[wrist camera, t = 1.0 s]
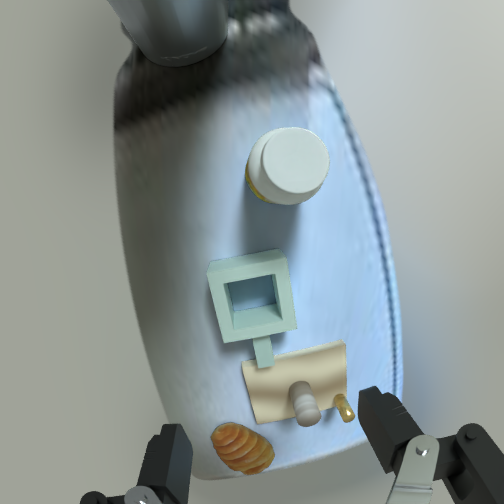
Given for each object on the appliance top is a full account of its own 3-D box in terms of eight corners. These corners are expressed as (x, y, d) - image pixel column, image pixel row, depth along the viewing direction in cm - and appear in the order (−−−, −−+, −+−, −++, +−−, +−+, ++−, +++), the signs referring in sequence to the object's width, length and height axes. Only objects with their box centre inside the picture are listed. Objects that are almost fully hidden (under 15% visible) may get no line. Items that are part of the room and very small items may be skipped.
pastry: (198, 429, 30) (195, 450, 27) (242, 411, 30) (243, 433, 26) (238, 462, 32) (239, 481, 28) (279, 447, 32) (283, 466, 28)
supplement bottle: (299, 206, 25) (335, 213, 16) (241, 199, 25) (244, 200, 16) (306, 149, 24) (344, 126, 15) (248, 141, 24) (256, 109, 15)
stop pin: (333, 395, 29) (343, 416, 25) (344, 392, 29) (355, 412, 25) (333, 403, 29) (343, 423, 25) (344, 400, 29) (354, 420, 25)
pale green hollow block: (210, 261, 26) (206, 273, 22) (278, 248, 26) (286, 257, 22) (233, 356, 28) (233, 378, 24) (293, 344, 28) (302, 365, 24)
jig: (241, 361, 28) (243, 398, 22) (341, 339, 28) (363, 369, 22) (256, 417, 30) (260, 454, 24) (343, 397, 30) (360, 430, 24)
